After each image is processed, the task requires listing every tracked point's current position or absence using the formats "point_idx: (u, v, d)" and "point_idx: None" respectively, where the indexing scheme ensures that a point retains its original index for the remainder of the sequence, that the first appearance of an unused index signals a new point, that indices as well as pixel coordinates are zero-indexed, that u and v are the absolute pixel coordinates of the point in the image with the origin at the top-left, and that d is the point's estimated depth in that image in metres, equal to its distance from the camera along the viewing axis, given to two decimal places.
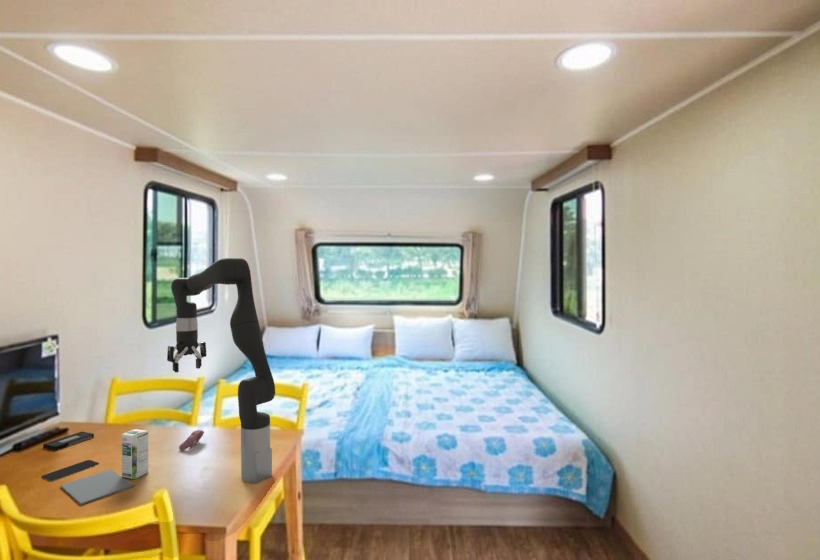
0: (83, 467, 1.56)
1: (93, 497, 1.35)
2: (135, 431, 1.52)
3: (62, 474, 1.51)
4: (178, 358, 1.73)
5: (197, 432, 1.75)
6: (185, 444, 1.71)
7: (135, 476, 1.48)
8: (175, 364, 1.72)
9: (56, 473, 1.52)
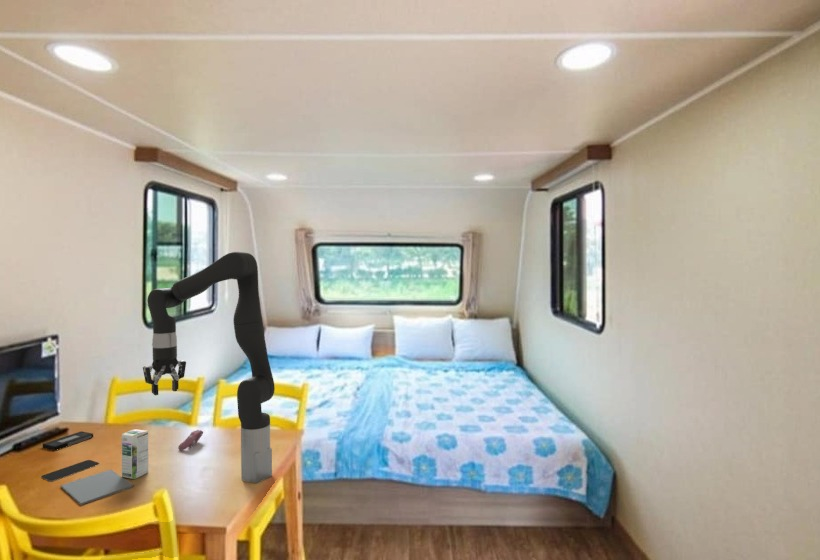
0: (83, 467, 1.56)
1: (93, 497, 1.35)
2: (135, 431, 1.52)
3: (62, 474, 1.51)
4: (157, 379, 1.55)
5: (196, 432, 1.75)
6: (184, 444, 1.71)
7: (135, 476, 1.48)
8: (154, 386, 1.55)
9: (56, 473, 1.52)
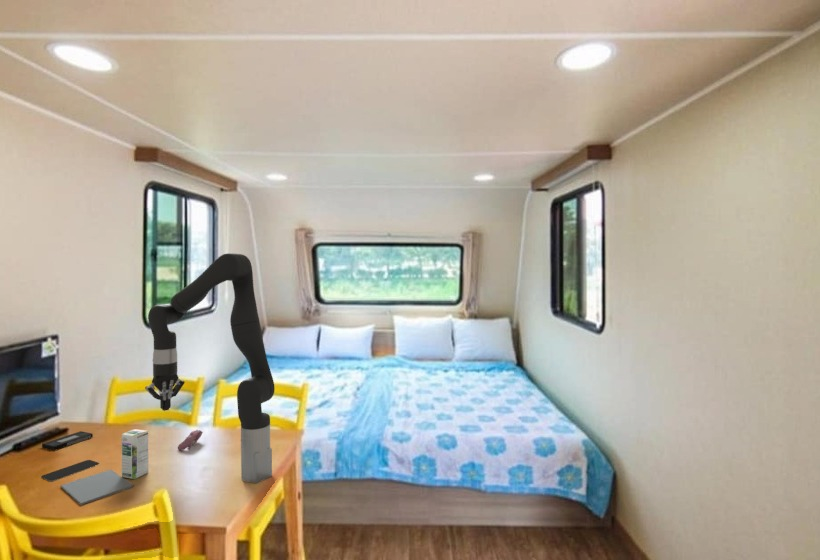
0: (83, 467, 1.56)
1: (93, 497, 1.35)
2: (135, 431, 1.52)
3: (62, 474, 1.51)
4: (164, 395, 1.57)
5: (196, 432, 1.75)
6: (184, 445, 1.71)
7: (135, 476, 1.48)
8: (163, 402, 1.58)
9: (56, 473, 1.52)
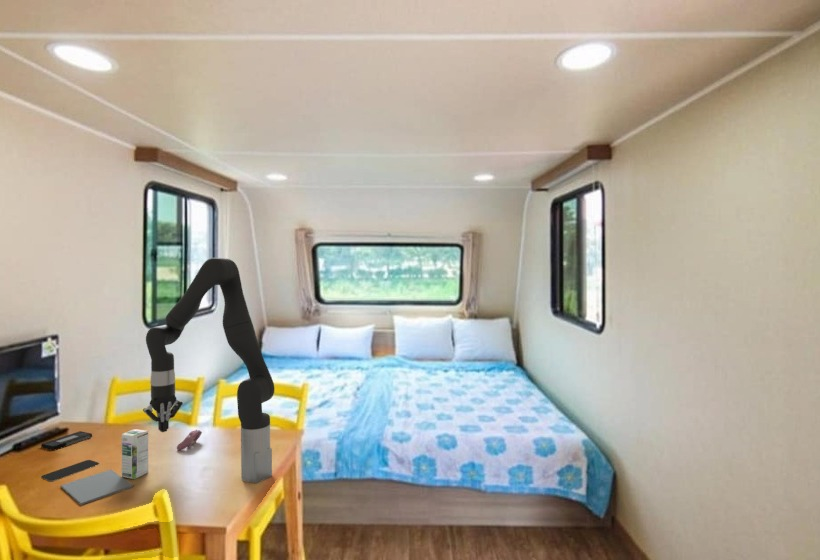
0: (83, 467, 1.56)
1: (93, 497, 1.35)
2: (135, 431, 1.52)
3: (62, 474, 1.51)
4: (162, 417, 1.57)
5: (195, 432, 1.75)
6: (183, 444, 1.71)
7: (135, 476, 1.48)
8: (161, 423, 1.57)
9: (56, 473, 1.52)
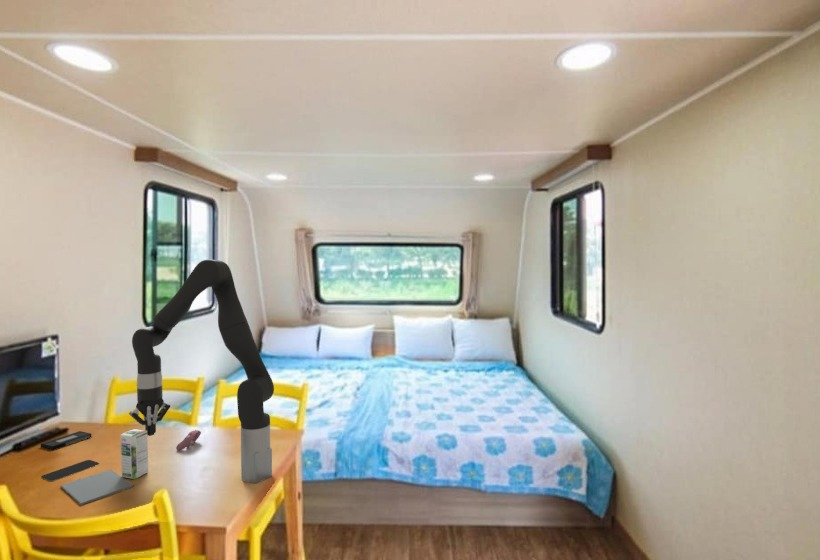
0: (83, 467, 1.56)
1: (93, 497, 1.35)
2: (134, 431, 1.51)
3: (62, 474, 1.51)
4: (149, 420, 1.54)
5: (194, 432, 1.75)
6: (182, 445, 1.71)
7: (135, 476, 1.48)
8: (148, 427, 1.54)
9: (56, 473, 1.52)
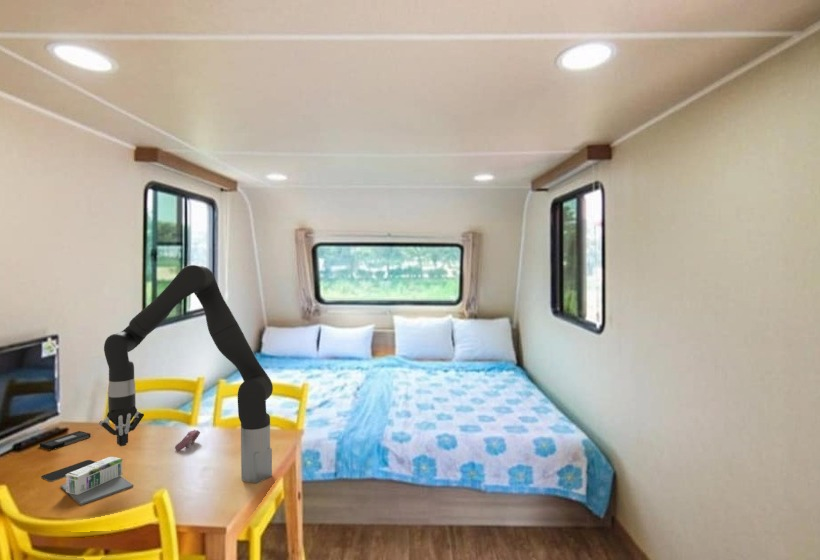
0: None
1: (93, 497, 1.35)
2: (70, 485, 1.37)
3: (62, 474, 1.51)
4: (120, 430, 1.47)
5: (193, 432, 1.75)
6: (181, 445, 1.71)
7: (119, 459, 1.49)
8: (119, 437, 1.47)
9: (56, 473, 1.52)
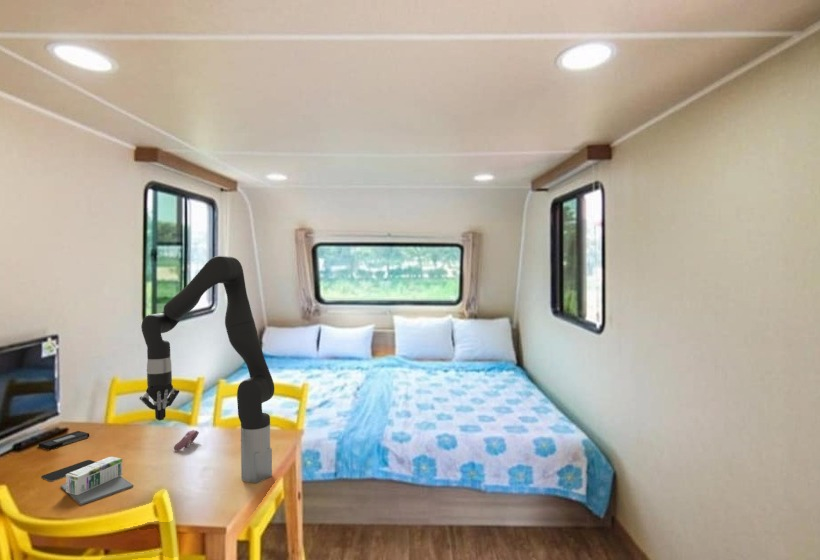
0: None
1: (93, 497, 1.35)
2: (70, 485, 1.37)
3: (62, 474, 1.51)
4: (159, 405, 1.57)
5: (192, 432, 1.75)
6: (180, 445, 1.71)
7: (119, 459, 1.49)
8: (158, 411, 1.57)
9: (56, 473, 1.52)
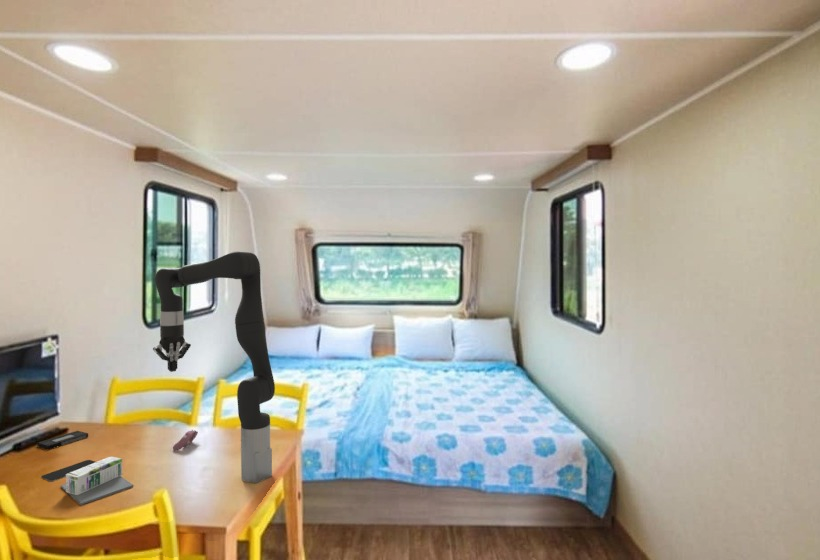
0: None
1: (93, 497, 1.35)
2: (70, 485, 1.37)
3: (62, 474, 1.51)
4: (171, 356, 1.62)
5: (191, 432, 1.75)
6: (179, 445, 1.71)
7: (119, 459, 1.49)
8: (170, 363, 1.62)
9: (56, 473, 1.52)
